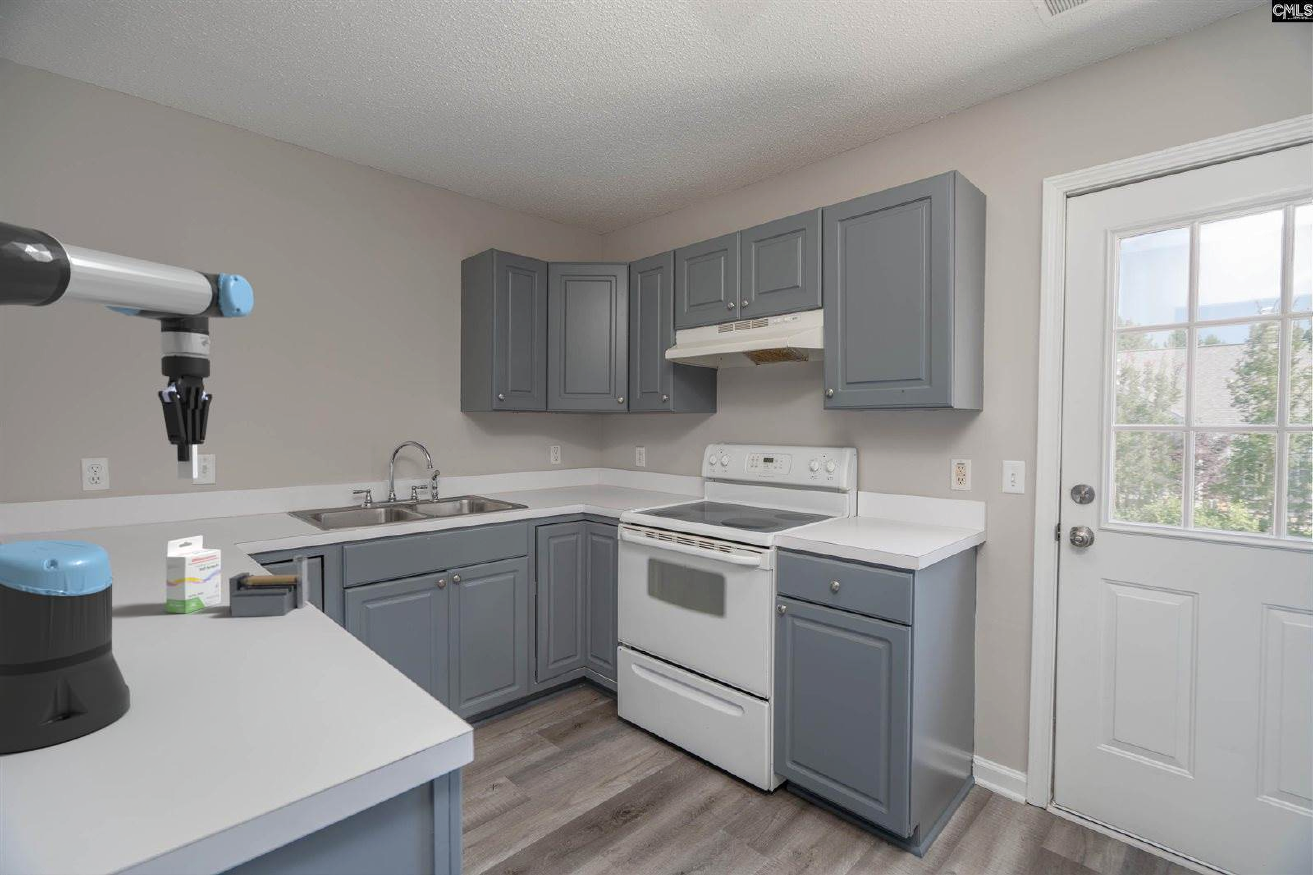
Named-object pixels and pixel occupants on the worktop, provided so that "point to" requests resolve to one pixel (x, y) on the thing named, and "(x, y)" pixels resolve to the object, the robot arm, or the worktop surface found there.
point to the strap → (268, 579)
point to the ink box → (192, 576)
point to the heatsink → (270, 594)
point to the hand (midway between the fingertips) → (187, 478)
